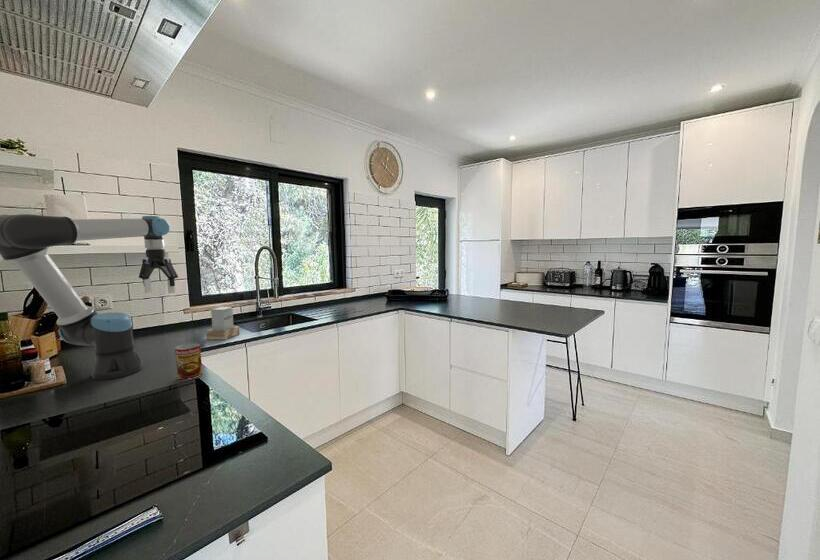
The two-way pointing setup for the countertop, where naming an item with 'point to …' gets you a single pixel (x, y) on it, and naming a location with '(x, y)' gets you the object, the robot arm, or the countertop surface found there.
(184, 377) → the canned food
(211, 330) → the display pedestal
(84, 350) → the countertop surface
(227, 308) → the supplement box
